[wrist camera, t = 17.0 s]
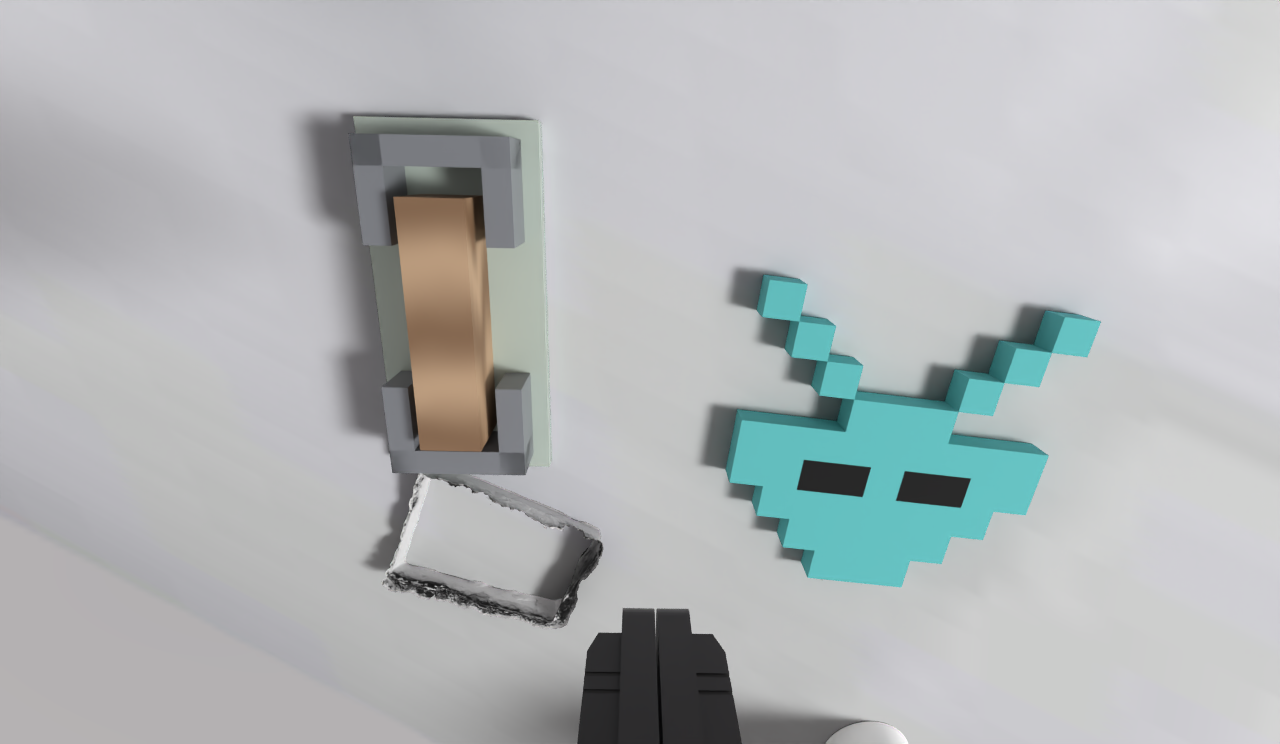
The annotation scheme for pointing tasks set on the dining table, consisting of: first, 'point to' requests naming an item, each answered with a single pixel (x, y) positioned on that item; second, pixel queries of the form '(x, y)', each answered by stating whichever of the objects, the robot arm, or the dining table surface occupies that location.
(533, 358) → the cradle board
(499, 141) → the end caps
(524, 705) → the dining table surface
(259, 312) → the dining table surface
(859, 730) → the cylindrical container
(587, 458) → the dining table surface
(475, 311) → the slat
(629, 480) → the dining table surface
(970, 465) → the alien figure
